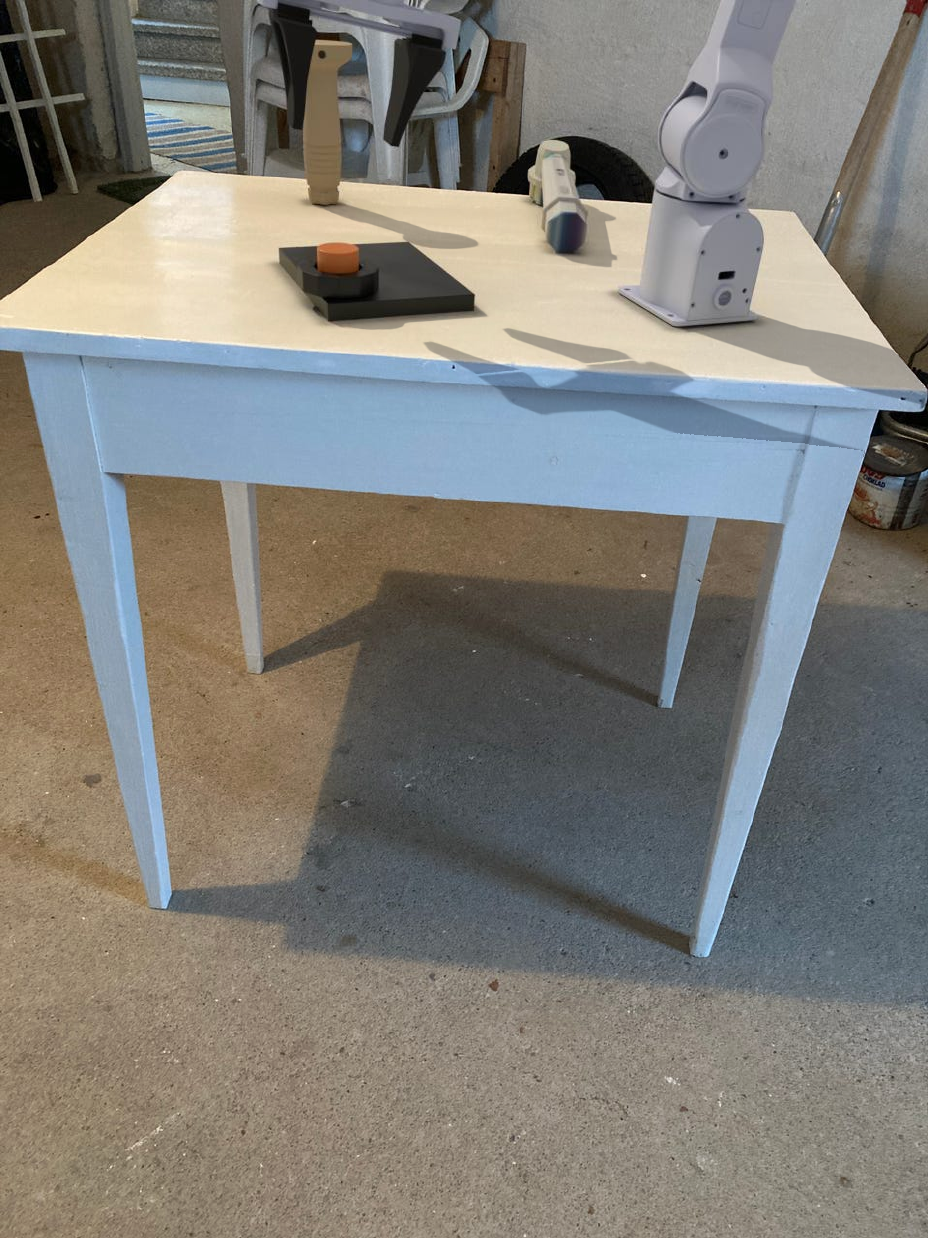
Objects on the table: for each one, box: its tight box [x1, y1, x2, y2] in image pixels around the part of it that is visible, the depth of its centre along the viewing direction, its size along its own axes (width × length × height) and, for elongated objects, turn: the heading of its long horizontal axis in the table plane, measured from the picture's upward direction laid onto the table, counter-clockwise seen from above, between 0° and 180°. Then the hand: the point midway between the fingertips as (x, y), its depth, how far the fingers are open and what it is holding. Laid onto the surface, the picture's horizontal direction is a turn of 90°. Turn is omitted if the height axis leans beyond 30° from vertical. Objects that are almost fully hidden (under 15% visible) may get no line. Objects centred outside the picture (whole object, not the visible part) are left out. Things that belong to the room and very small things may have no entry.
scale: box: [278, 241, 476, 322], centre depth 82 cm, size 16×13×3 cm
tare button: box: [317, 241, 359, 273], centre depth 76 cm, size 3×3×2 cm
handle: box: [302, 39, 353, 206], centre depth 102 cm, size 5×6×15 cm
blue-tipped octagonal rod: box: [527, 139, 589, 254], centre depth 104 cm, size 5×7×25 cm
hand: (343, 135), depth 75 cm, fingers open, 7 cm apart
